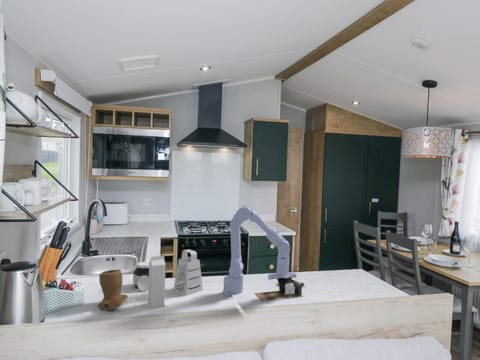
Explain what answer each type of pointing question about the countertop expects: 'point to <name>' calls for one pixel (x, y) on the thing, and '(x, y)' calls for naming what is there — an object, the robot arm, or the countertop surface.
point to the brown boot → (111, 289)
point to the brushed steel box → (289, 289)
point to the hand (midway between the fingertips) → (281, 292)
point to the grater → (188, 274)
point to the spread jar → (141, 276)
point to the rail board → (277, 295)
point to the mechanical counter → (292, 281)
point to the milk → (156, 282)
